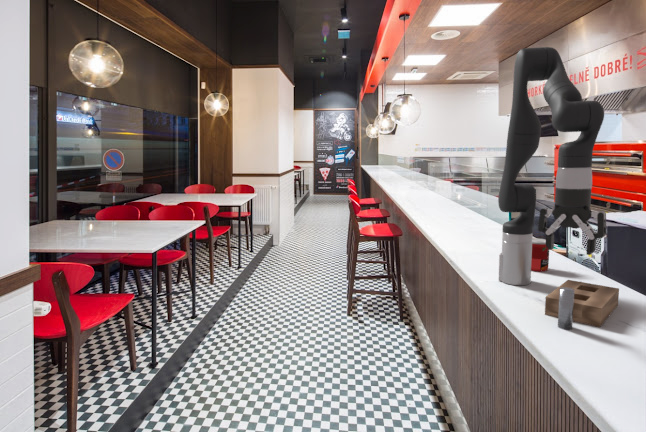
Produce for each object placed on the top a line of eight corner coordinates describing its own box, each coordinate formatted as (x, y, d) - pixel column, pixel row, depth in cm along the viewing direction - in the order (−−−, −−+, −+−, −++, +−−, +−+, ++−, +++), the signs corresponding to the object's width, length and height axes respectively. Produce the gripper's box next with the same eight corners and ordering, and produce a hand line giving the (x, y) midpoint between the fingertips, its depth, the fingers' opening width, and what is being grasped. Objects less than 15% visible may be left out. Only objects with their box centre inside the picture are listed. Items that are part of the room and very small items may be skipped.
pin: (555, 327, 107) (558, 289, 105) (559, 323, 109) (562, 286, 108) (570, 330, 105) (572, 292, 103) (573, 326, 107) (576, 289, 105)
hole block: (544, 314, 115) (545, 296, 115) (567, 295, 129) (568, 279, 128) (600, 327, 106) (601, 308, 105) (617, 305, 120) (619, 288, 119)
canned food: (545, 273, 152) (546, 243, 151) (521, 269, 158) (523, 240, 156) (550, 268, 158) (552, 239, 156) (528, 265, 163) (529, 237, 162)
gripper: (536, 186, 104) (533, 250, 106) (604, 188, 94) (599, 259, 96) (546, 184, 109) (543, 245, 112) (611, 186, 99) (607, 253, 102)
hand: (569, 251), depth 104 cm, fingers open, 8 cm apart
